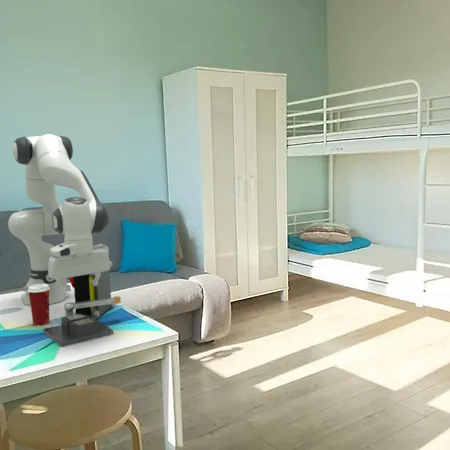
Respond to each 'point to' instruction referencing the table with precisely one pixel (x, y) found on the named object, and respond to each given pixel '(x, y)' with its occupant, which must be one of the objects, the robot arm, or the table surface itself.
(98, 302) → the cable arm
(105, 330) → the tray
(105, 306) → the electrical component
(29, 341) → the table surface
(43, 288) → the paper cup
